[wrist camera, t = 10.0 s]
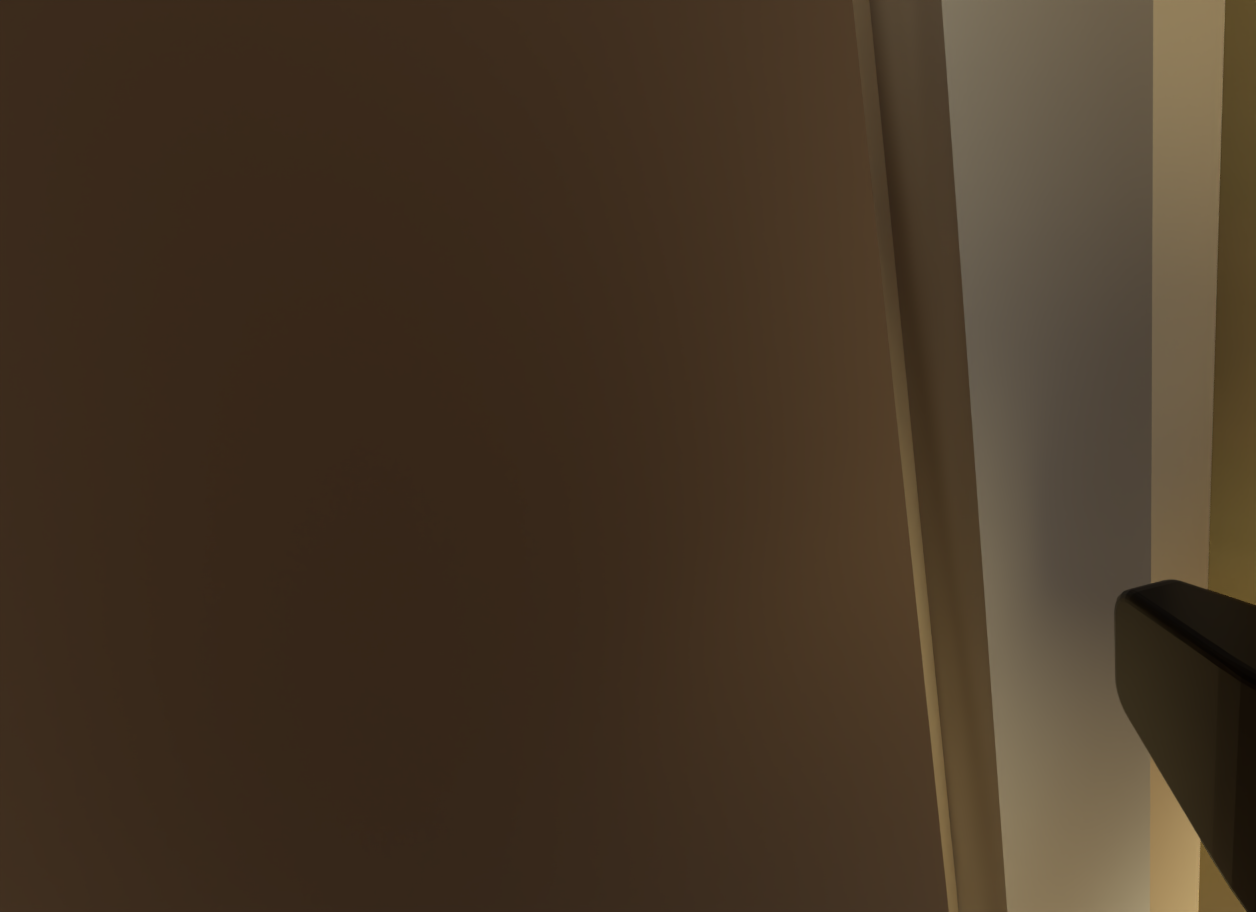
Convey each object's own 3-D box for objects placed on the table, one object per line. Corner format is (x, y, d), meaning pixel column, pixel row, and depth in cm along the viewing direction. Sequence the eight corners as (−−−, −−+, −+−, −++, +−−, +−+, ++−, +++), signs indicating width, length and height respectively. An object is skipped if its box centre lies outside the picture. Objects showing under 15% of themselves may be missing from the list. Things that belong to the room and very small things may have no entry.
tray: (186, 1275, 16) (141, 1498, 14) (-977, -559, 7) (-1636, -788, 5) (1152, 1015, 16) (1265, 1187, 14) (1162, -968, 8) (1456, -1340, 5)
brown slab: (468, 1060, 13) (480, 1823, 8) (37, -32, 8) (-760, 37, 3) (797, 972, 14) (1028, 1662, 8) (581, -152, 8) (817, -306, 3)
